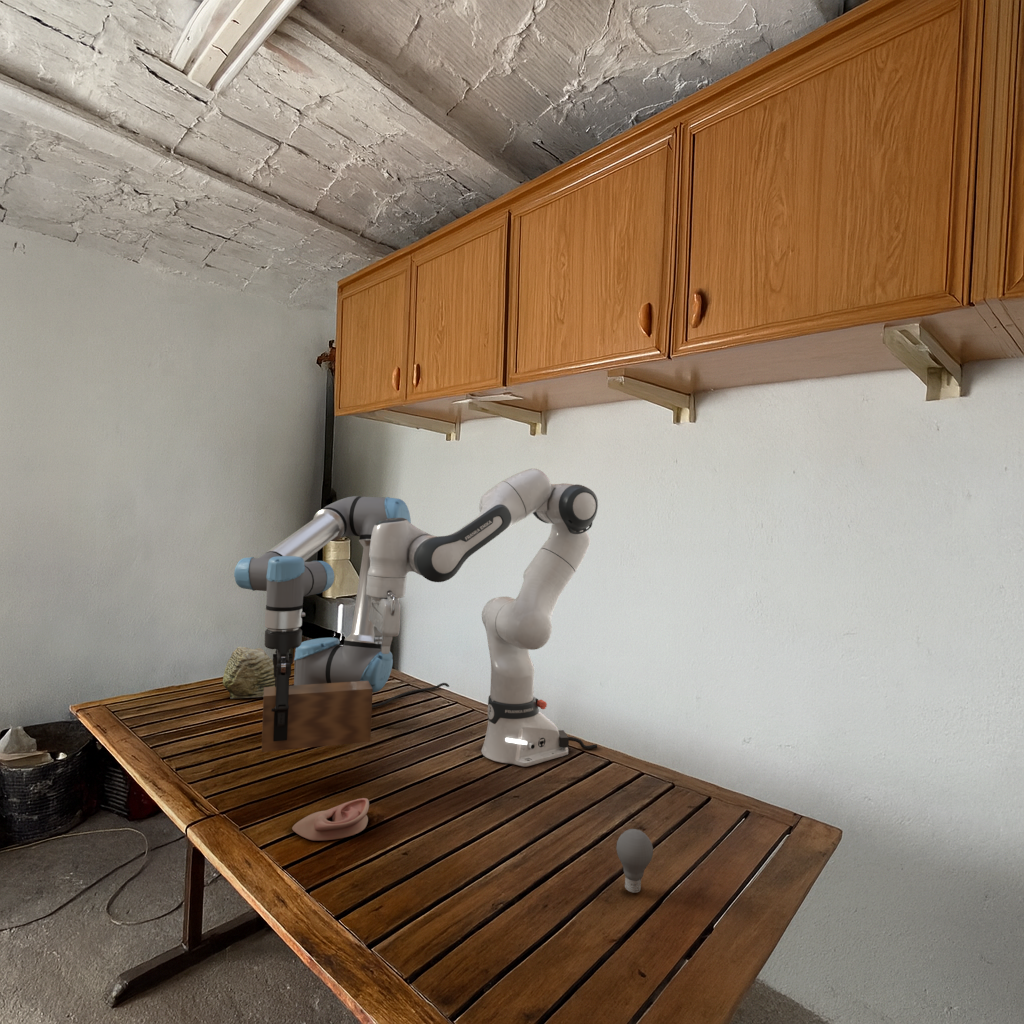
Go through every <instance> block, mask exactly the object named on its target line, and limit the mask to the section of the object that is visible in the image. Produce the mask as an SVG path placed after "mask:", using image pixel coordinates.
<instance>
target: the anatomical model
mask: <svg viewBox="0 0 1024 1024" xmlns="http://www.w3.org/2000/svg"><path fill="white" fill-rule="evenodd" d="M369 807H370V801H369V799H368V798H366V797H362V798H357V799H356V798H355V799H353V800H350V801H346V802H343V803H341V804H338V805H336V806H334V807H331V808H329V809H326V810H321V811H320V810H319V811H316V812H313V813H311V814H309V815H306V816H305V817H303V818H302V819H299V820H298V821H296V823H295V824H293V826H292V828H291V829H292V831H293V832H294V833H295V834H297V835H299V836H300V837H302V838H305V839H306V840H309V841H314V842H315V841H317V842H319V841H320V842H321V841H332V840H340V839H344V838H348V837H351V836H355V835H356V834H359V833H361V832H362V831H364V830H365V829H366V827H367V825H368V822H369V816H368V815H367V814H368V812H369Z"/></svg>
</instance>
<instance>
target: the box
mask: <svg viewBox="0 0 1024 1024" xmlns="http://www.w3.org/2000/svg"><path fill="white" fill-rule="evenodd" d="M372 692H373V689H372V687H371V685H370V683H369V681H356V682H340V683H324V684H308V685H294V684H293V685H289V699H288V705H289V708H288V727H287V740H284V741H273V736H274V712H272V709H273V708H275V705H276V687H264V696H263V697H262V698H263V700H262V726H261V727H262V728H261V753H266V752H267V753H269V752H277V751H278V752H279V751H286V750H297V749H306V748H307V749H308V748H317V747H318V748H319V747H328V746H329V747H330V746H337V745H339V746H340V745H348V744H349V745H350V744H357V743H358V744H359V743H360V744H361V743H369V742H371V740H372V713H373V708H372V705H373V693H372Z"/></svg>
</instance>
